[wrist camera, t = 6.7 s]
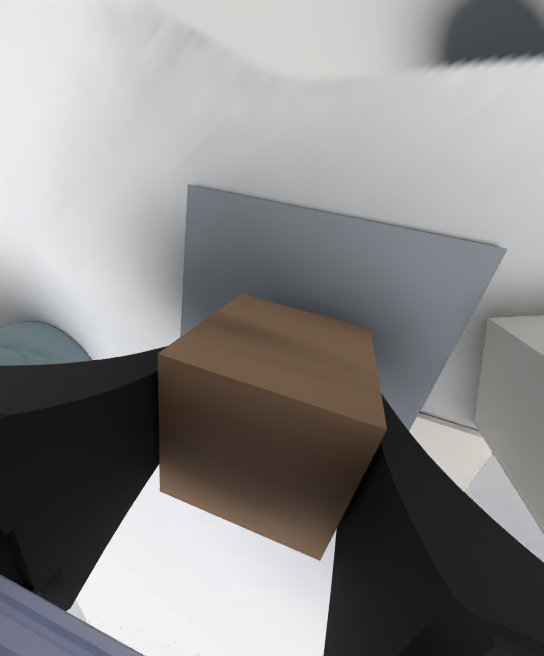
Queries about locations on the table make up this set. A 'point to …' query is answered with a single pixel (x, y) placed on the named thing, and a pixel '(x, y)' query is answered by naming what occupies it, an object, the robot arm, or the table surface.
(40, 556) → the robot arm
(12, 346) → the green cup
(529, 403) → the off-white block
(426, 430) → the tile
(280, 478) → the walnut block
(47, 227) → the table surface
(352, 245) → the slate pad
